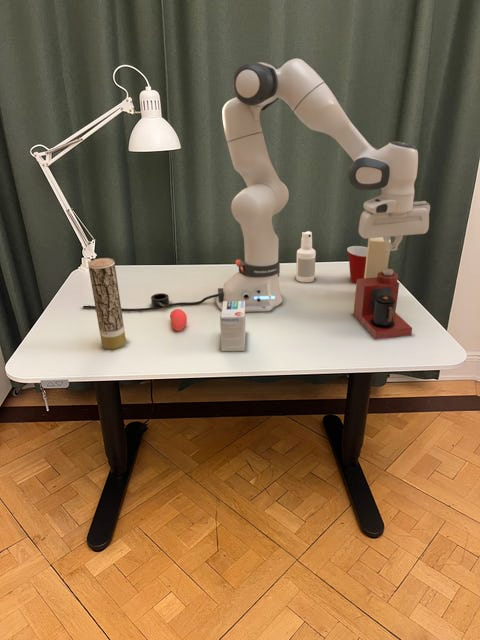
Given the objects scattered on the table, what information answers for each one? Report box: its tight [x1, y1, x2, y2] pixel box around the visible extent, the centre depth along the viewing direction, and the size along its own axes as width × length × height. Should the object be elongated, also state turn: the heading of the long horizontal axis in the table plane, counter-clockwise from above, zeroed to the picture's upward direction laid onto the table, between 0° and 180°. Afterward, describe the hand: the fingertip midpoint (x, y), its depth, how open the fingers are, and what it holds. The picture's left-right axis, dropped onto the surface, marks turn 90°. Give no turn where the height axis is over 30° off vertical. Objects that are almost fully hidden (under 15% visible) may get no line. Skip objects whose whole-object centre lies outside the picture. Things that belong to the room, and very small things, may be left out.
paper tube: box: [87, 257, 127, 350], centre depth 134 cm, size 7×7×25 cm
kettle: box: [373, 296, 395, 327], centre depth 140 cm, size 6×9×8 cm, turn 10°
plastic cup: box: [346, 245, 368, 284], centre depth 176 cm, size 11×11×12 cm
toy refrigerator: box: [364, 237, 392, 278], centre depth 160 cm, size 8×7×21 cm
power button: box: [383, 268, 395, 277], centre depth 145 cm, size 3×3×2 cm
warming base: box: [360, 288, 413, 340], centre depth 142 cm, size 11×10×11 cm
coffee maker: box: [353, 271, 400, 324], centre depth 148 cm, size 12×6×14 cm, turn 100°
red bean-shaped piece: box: [169, 308, 188, 332], centre depth 148 cm, size 5×9×6 cm
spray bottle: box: [295, 230, 317, 283], centre depth 177 cm, size 7×7×18 cm
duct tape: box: [150, 292, 170, 308], centre depth 162 cm, size 8×10×3 cm
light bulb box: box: [219, 301, 246, 352], centre depth 136 cm, size 11×7×11 cm, turn 178°
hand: (391, 250), depth 142 cm, fingers closed
